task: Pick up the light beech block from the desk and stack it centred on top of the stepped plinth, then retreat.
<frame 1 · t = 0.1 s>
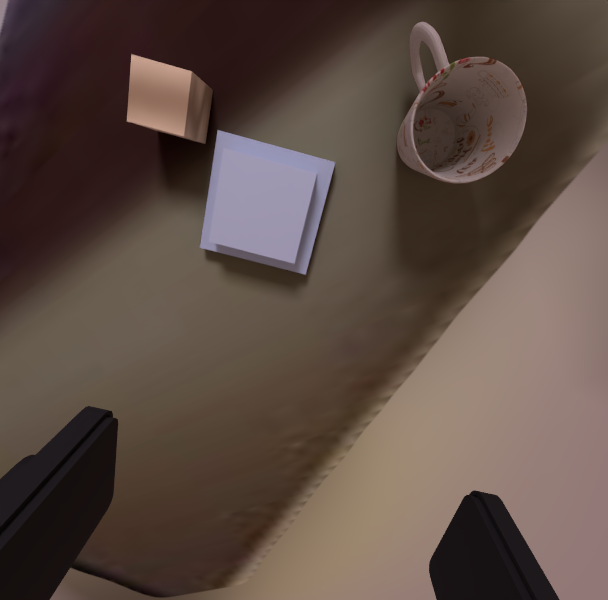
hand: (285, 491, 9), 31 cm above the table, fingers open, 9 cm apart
beech block: (185, 111, 34), on the table
plinth: (266, 206, 37), on the table
mug: (418, 119, 34), on the table
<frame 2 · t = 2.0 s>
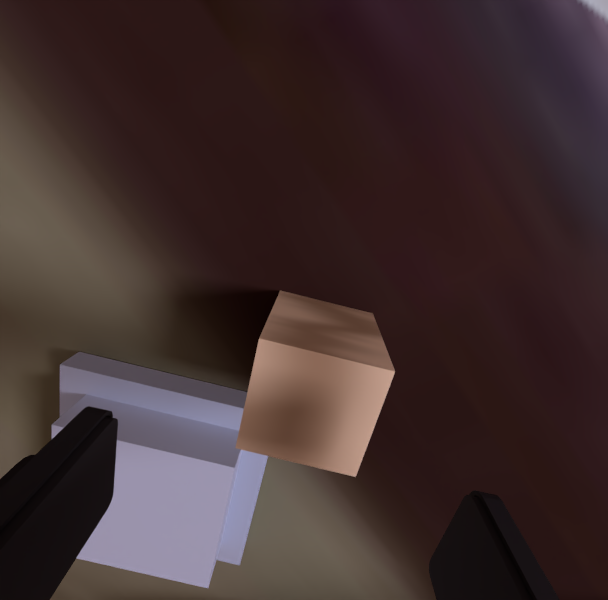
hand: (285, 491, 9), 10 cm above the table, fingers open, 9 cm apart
beech block: (314, 343, 18), on the table
plinth: (169, 456, 21), on the table
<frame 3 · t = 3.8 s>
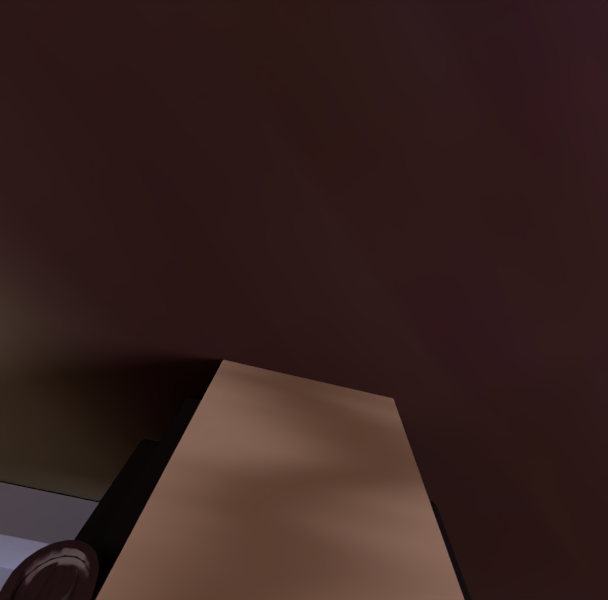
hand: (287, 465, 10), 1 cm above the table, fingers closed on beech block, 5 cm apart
beech block: (289, 446, 10), on the table, touching gripper
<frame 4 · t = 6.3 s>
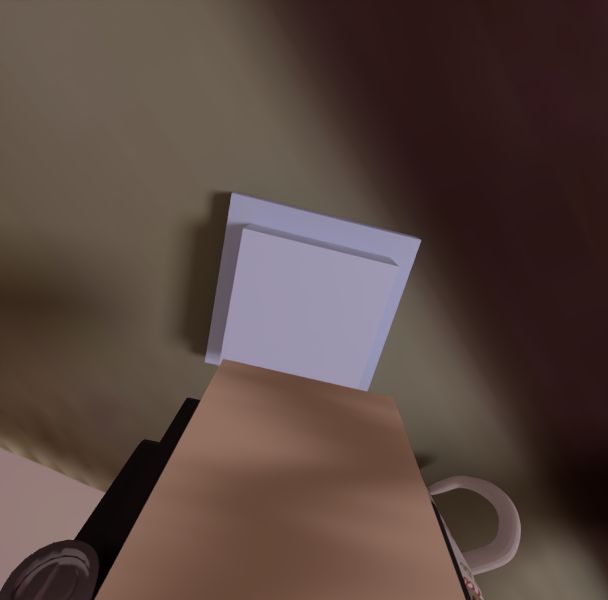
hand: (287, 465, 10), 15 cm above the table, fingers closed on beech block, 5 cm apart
beech block: (290, 446, 10), point 14 cm above the table, touching gripper
plinth: (305, 298, 24), on the table
mug: (405, 468, 29), on the table
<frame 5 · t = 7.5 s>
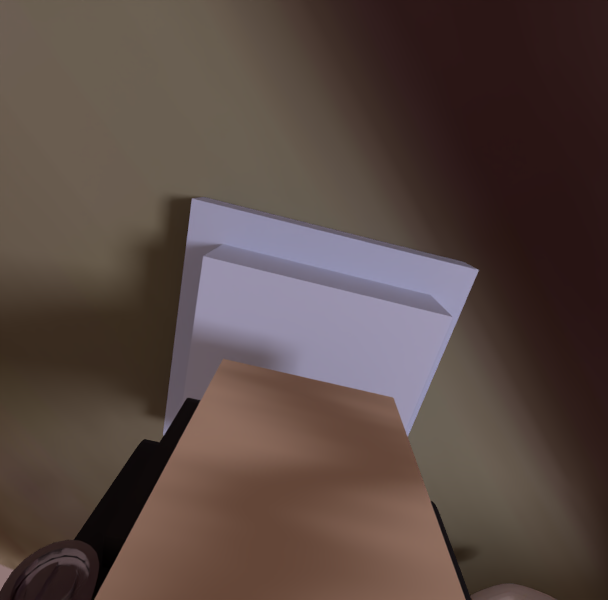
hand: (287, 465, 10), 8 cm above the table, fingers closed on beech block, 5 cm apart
beech block: (290, 446, 10), point 7 cm above the table, touching gripper
plinth: (304, 346, 17), on the table
mug: (436, 561, 22), on the table
when the fingers open (6 cm above the table, at t = 8.7 s): beech block drops 1 cm, resting on plinth.
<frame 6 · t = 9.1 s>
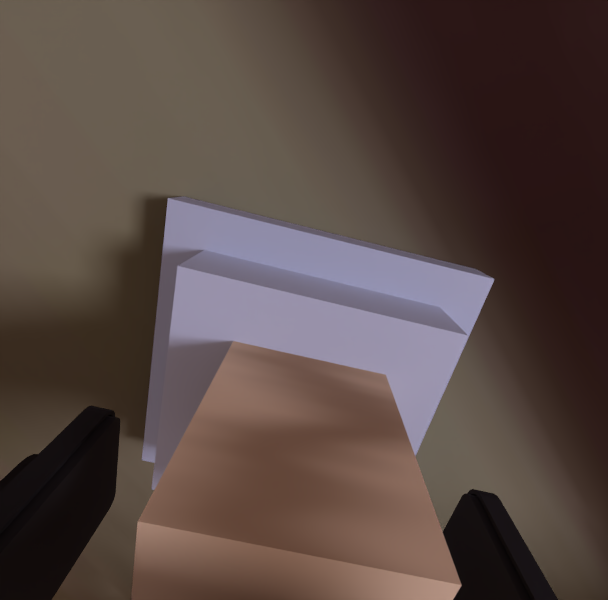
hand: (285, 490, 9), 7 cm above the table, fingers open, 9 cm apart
beech block: (293, 420, 12), point 4 cm above the table, touching plinth
plinth: (298, 362, 15), on the table
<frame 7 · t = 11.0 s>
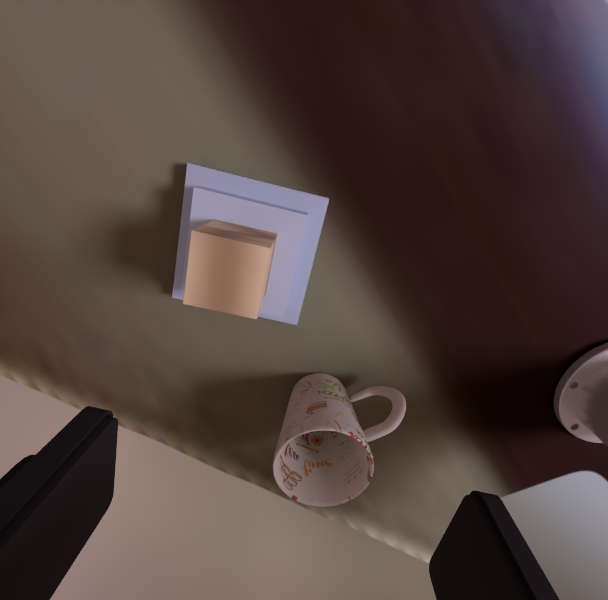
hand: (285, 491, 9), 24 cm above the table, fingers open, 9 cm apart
beech block: (242, 256, 28), point 4 cm above the table, touching plinth
plinth: (249, 247, 31), on the table
mug: (336, 387, 37), on the table
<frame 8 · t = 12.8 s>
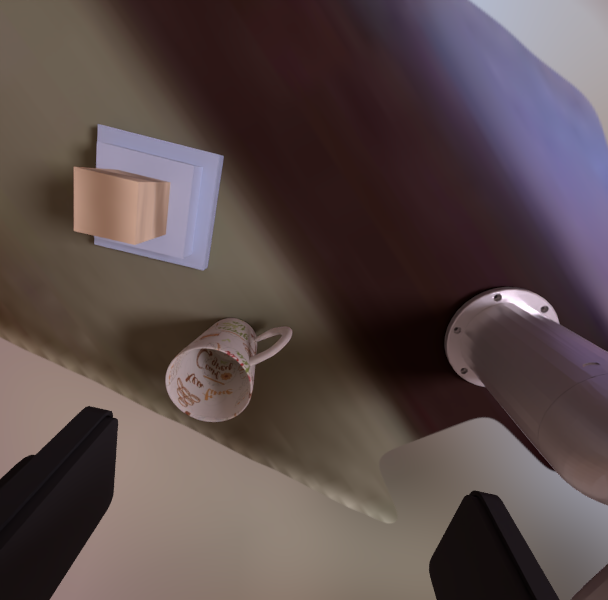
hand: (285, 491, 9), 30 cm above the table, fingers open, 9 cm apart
beech block: (142, 203, 32), point 4 cm above the table, touching plinth
plinth: (160, 201, 36), on the table
mug: (248, 332, 41), on the table
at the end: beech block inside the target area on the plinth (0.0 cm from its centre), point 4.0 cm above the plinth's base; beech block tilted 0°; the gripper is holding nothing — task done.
